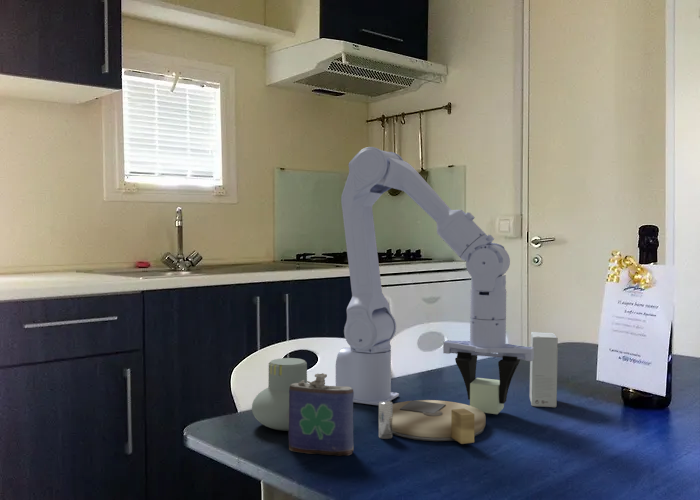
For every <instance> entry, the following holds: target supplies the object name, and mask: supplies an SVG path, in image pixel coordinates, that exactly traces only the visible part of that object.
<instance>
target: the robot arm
mask: <svg viewBox="0 0 700 500" xmlns="http://www.w3.org/2000/svg"><path fill="white" fill-rule="evenodd" d="M391 189H395V190H398V191H402V192H404V193H405V194H406V195H407V196H408V197H410V199H411V200H412V201H414V203H416V204H417V205H418V206H419V207H420V208H421V209H422V210H423V211H424V212H425V213H426V214H427V215H428V216H429V217H430V218H432V220H433V221H434V222H436V234H437V236H439V237H440V238H441V240H442V241H444V242H445V244H446V245H447V246H448V247H449V248H450V249H452V251H453V252H454V253H455V254H456V255H457V256H458V257H459V258H460V259H461V260H462V261H463V262H465V267H466V271H467V272H468V274H469V275H470V277H471V279H470V280H471V282H470V283H471V284H470V288H471V289H470V310H469V311H470V314H469V315H470V319H469V321H470V322H469V324H470V325H469V326H470V327H469V328H470V329H469V330H470V331H469V333H470V335H469V338H470V339H469V340H447V339H446V340H445V341H443V344H442V345H443V347H442V350H443V351H442V353H443V354H447V355H450V354H456V357H455V364H456V366H457V368H458V369H459V371H460V374H461V376H462V379H463V382H464V385H465V388H466V392H467V393H466V394H467V399H468V400H469V401H470V383H471V382H472V381H474V380H475V379H476V378H477V377H476V375H477V374H476V373H477V371H476V370H477V363H478V357H489V358H501V359H500V360H499V361H497V362H498V374H499V376H498V377H499V380H500V388H499V403H501V404H504V405H505V403H506V402H507V398H508V397H507V396H508V393H509V390H510V388H509V387H510V384H511V381H512V380H513V377H514V374H515V372H516V370H517V368H518V366H519V363H520V361H521V360H522V361H525V362H526V361H527V362H530V361H532V360H533V359H534V347H530V346H524V345H518V344H513V343H512V344H511V343H507V341H506V340H507V339H506V338H507V331H506V330H507V287H506V286H507V281H506V280H507V275H506V273H507V272H508V270H509V268H510V265H511V258H510V255H509V253H508V251H507V250H506V248H505V246H504V245H502V244H500V243H495V242H493V241H494V240H495V238H494V237H493V235H491V234H488V235H487V233H485V231H484V230H483V229H481V228H480V227H479V226H478V224H477V223H476V222H475V221H474V219H475V216H474V215H473V214H472V213H471V212H465V211H464V210H462V209H451V207H449V206H448V204H447V203H446V202H445V201H444V200H443V199H442V197H440V195H439V194H438V193H437V192H436V191H435V189H433V187H432V186H431V185H430V184H429V183H428V182H427V181H426V180H425V178H423V177H422V175H421V174H420V173H419V172H418V171H417V170H416V169H415V168H414V166H412V165H411V164H410V163H409V162H407V161H404V158H403V157H402V156H401V155H400V154H398V153H397V152H393V151H386V150H382V149H380V148H377V147H376V146H368V147H364V148H362V149H361V150H359V151H358V152H357V153H356V154H355V155H354V157H353V158H352V159H351V160H350V161H349V163H348V175H347V177H346V181H345V184H344V187H343V190H342V192H341V197H340V200H341V203H340V204H341V211H342V219H343V229H344V236H345V237H344V238H345V245H346V254H347V261H348V270H349V278H350V288H351V299H350V301H349V303H348V305H347V307H346V321H345V324H344V327H343V328H344V329H343V334H344V339H345V341H346V342H347V344H348V346H349V347H343V348H341V349H340V350H339V351H338V352H337V356H336V360H335V386H348V387H351V388H352V389H353V392H354V396H353V403H356V404H365V405H372V406H379V402H381V401H390V402H392V400H394V399H396V398H397V397H399V396H400V393H398V392H393V391H392V383H391V381H392V373H391V372H392V367H391V365H392V346H391V340H392V339H393V338H394V336H395V335H396V332H397V321H396V319H395V317H394V316H393V314H392V312H391V309H390V304H389V301H388V299H387V298H386V296H385V295H384V294H383V288H382V281H381V280H382V279H381V272H380V263H379V255H378V248H377V238H376V230H375V229H376V228H375V220H374V213H373V212H374V211H373V206H374V205H375V203H376V202H377V201H378V200H379V198H380V197H382V196H383V194H385V192H387V191H389V190H391Z"/></svg>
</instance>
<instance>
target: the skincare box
mask: <svg viewBox="0 0 700 500" xmlns="http://www.w3.org/2000/svg"><path fill="white" fill-rule="evenodd" d="M558 340H559V339H558V336H557V335H556V334H555V332H540V331H531V332H530V346H529V347H534V359H533V360H532V361H529V400H530V405H531V406H532V407H545V408H556V407H557V403H558V401H557V399H558V398H557V397H558V391H557V390H558V353H559V352H558V350H559V349H558V348H559V347H558Z"/></svg>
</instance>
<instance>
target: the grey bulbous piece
mask: <svg viewBox="0 0 700 500" xmlns="http://www.w3.org/2000/svg"><path fill="white" fill-rule="evenodd" d="M307 370H308V363H307V361H306V360H305V359H302V358H295V357H283V358H282V357H281V358H274V359H272V360H270V361H269V363H268V387H266V388H265V389H263V390H262V391H260V392H258V394H257V395H256V396H255V398H254V399H253V401H252V404H251V413H252V415H253V417H254V418H255V419H256V420H257V421H258V422H259V423H260V425H261V424H262V426H264V427H267V428H269V429H271V430H276V431H284V432H289V388H290V385H291V384H294V383H299V382H301V381H303V380H305V382H304V383H307V381H308V371H307Z"/></svg>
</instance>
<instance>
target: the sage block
mask: <svg viewBox="0 0 700 500" xmlns="http://www.w3.org/2000/svg"><path fill="white" fill-rule="evenodd" d="M499 388H500V379H493V378H492V379H491V378H483V377H476V379H475V380H474V381H472V382H471V383H470V400H469V406H472V407H475V408H477V409H479V410H481V411H482V412H484V414H493V415H498V414H499V413H500V412H501V411H502V410H503V409H504V407H505V403H504V404H501V403H499Z"/></svg>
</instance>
